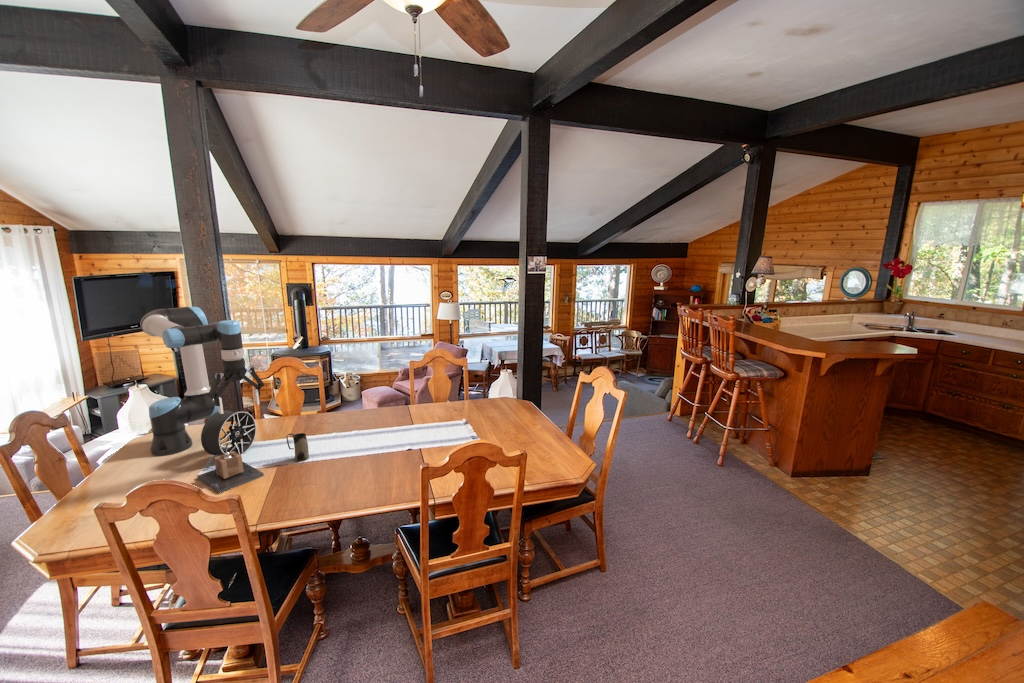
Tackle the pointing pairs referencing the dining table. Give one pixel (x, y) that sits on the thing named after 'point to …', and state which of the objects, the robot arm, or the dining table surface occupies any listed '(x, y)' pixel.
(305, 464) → the dining table surface
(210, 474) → the shaft stand
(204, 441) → the wheel rim
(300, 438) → the mug
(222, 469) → the hollow wooden cube
